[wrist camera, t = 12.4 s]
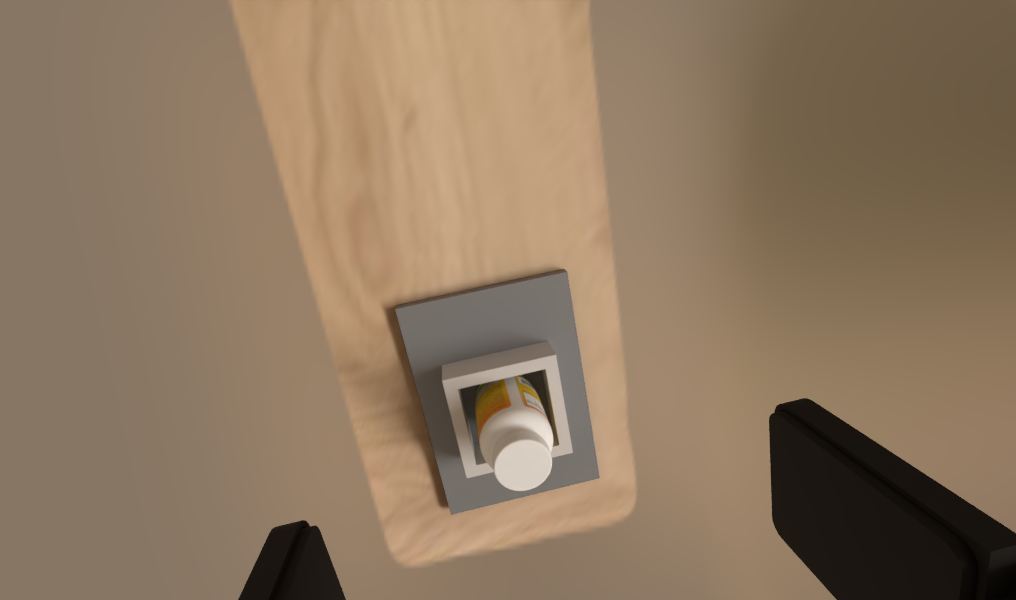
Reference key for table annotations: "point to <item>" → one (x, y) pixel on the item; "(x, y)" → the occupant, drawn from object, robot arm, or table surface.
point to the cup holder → (493, 356)
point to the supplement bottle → (514, 432)
